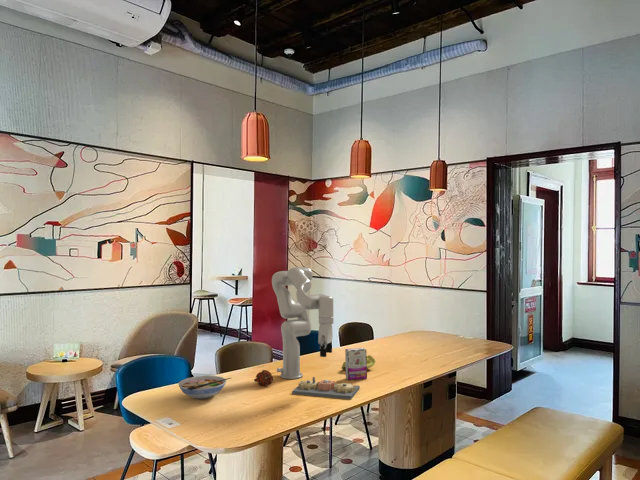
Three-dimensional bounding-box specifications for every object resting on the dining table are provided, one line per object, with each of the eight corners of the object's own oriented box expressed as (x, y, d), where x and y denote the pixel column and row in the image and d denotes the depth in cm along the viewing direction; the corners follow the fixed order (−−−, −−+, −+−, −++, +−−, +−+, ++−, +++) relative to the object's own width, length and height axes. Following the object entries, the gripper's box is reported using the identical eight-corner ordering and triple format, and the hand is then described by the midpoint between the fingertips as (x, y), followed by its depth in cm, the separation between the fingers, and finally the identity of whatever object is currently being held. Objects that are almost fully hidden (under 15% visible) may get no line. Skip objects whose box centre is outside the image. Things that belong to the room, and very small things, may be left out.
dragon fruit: (270, 391, 238) (257, 389, 246) (280, 378, 243) (266, 377, 252) (261, 379, 235) (248, 378, 244) (271, 367, 240) (258, 366, 249)
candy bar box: (364, 376, 258) (363, 347, 259) (367, 379, 254) (367, 349, 254) (345, 378, 255) (344, 348, 256) (348, 380, 251) (347, 350, 251)
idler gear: (316, 389, 230) (316, 383, 230) (320, 385, 236) (320, 379, 236) (332, 390, 227) (332, 384, 227) (336, 387, 234) (336, 381, 234)
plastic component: (353, 370, 263) (342, 360, 271) (350, 380, 266) (340, 370, 274) (378, 363, 275) (368, 353, 282) (375, 372, 278) (365, 362, 285)
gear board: (292, 393, 228) (292, 380, 228) (304, 384, 245) (304, 371, 245) (351, 399, 218) (351, 385, 219) (359, 388, 236) (359, 375, 236)
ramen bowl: (209, 386, 240) (209, 371, 241) (237, 395, 226) (237, 378, 226) (166, 398, 221) (166, 381, 221) (195, 408, 207) (195, 390, 207)
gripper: (324, 317, 242) (324, 350, 242) (313, 322, 226) (313, 357, 225) (337, 318, 240) (337, 351, 239) (328, 323, 223) (328, 358, 223)
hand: (326, 354), depth 232 cm, fingers open, 9 cm apart
